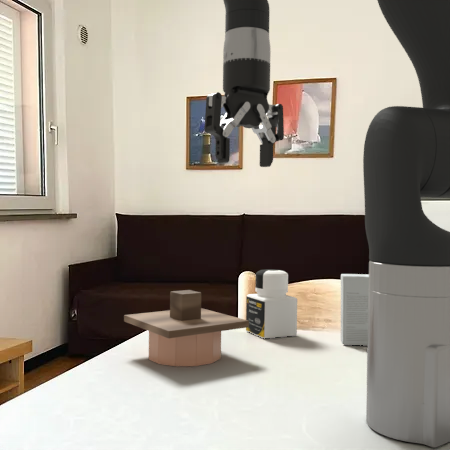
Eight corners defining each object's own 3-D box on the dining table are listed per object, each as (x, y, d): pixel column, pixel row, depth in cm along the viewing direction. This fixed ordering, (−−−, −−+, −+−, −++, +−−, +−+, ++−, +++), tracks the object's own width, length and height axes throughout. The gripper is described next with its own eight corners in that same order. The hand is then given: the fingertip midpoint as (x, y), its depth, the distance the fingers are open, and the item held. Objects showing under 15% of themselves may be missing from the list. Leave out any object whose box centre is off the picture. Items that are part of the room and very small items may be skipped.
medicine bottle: (245, 331, 102) (246, 268, 101) (277, 328, 105) (278, 267, 104) (263, 339, 95) (264, 272, 95) (297, 336, 98) (298, 271, 98)
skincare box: (373, 341, 95) (375, 274, 95) (378, 347, 91) (379, 276, 91) (339, 340, 96) (340, 273, 96) (342, 345, 91) (343, 275, 91)
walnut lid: (248, 327, 81) (249, 294, 81) (168, 338, 73) (169, 301, 73) (198, 313, 93) (198, 284, 93) (124, 321, 84) (124, 289, 84)
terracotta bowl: (234, 359, 82) (234, 326, 82) (171, 370, 75) (172, 335, 75) (195, 344, 91) (195, 315, 91) (136, 353, 84) (136, 321, 84)
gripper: (224, 48, 78) (222, 159, 78) (295, 65, 86) (294, 166, 87) (196, 60, 84) (194, 163, 84) (265, 75, 92) (264, 169, 93)
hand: (245, 164), depth 85 cm, fingers open, 8 cm apart
